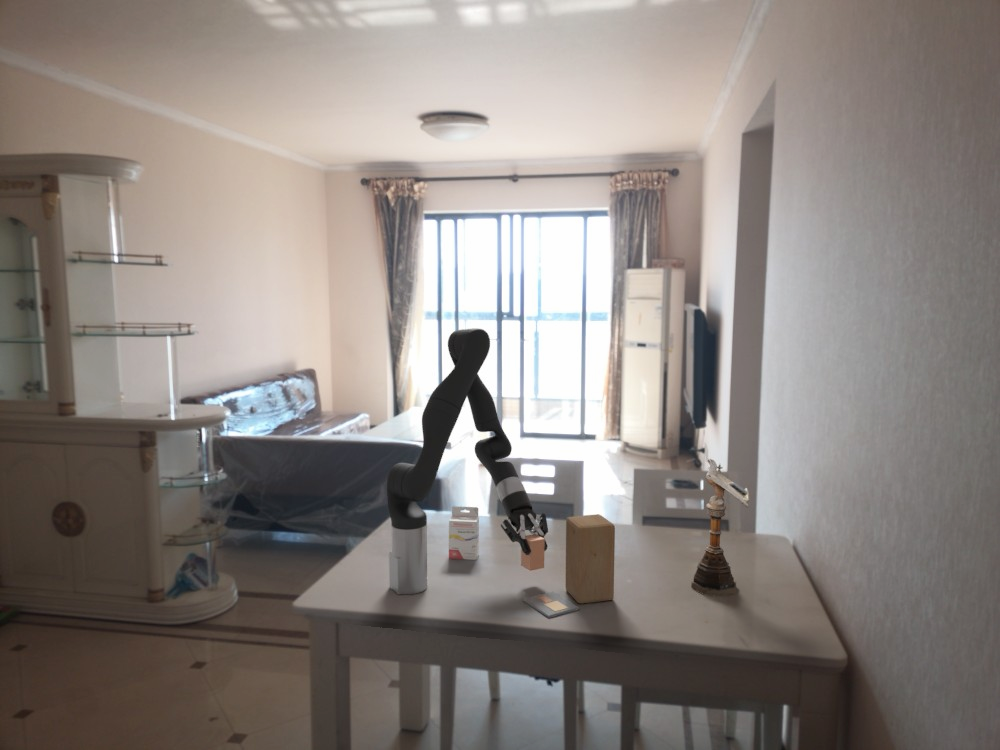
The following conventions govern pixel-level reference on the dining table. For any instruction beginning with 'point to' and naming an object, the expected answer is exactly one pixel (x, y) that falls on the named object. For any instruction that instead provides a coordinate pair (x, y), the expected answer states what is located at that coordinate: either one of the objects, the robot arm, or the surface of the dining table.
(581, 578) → the wooden block
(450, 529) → the ink cartridge box
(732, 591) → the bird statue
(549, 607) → the tile
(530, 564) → the terracotta block
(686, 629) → the dining table surface
